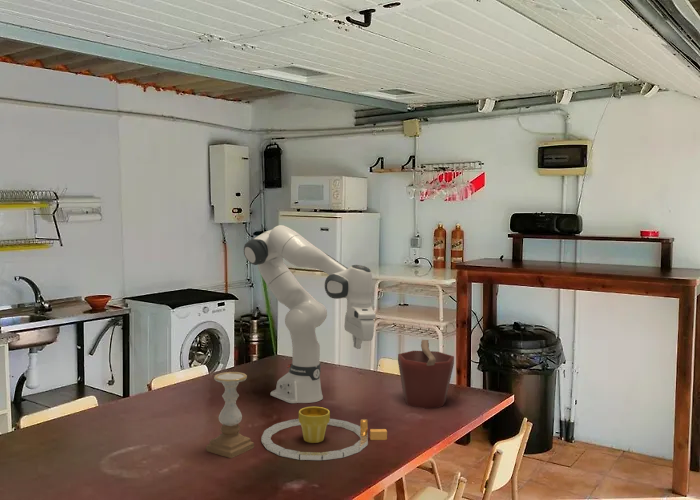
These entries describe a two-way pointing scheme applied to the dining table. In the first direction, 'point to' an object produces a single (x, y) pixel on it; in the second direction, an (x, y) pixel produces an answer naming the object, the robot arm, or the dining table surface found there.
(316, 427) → the plant pot
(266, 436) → the ring
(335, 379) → the dining table surface
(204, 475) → the dining table surface
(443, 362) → the bucket
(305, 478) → the dining table surface
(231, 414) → the candle holder
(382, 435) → the pointer block
